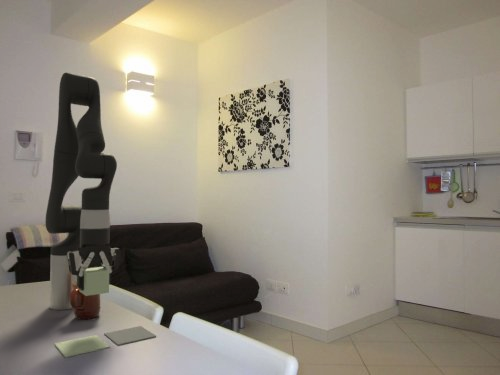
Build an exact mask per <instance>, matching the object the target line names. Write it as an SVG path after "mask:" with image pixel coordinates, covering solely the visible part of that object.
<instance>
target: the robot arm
mask: <svg viewBox="0 0 500 375" xmlns="http://www.w3.org/2000/svg"><path fill="white" fill-rule="evenodd" d="M100 90H101V89H100V85H99V82H98V80H97V79H96V78H94V77H91V76H87V75H83V74H77V73H72V72H64V73H62V75H61V76H60V82H59V90H58V91H59V92H58V110H57V111H58V116H57V128H56V135H55V143H54V148H53V149H54V151H53V160H52V161H53V162H52V175H51V185H50V190H49V196H48V201H47V207H46V213H45V229H46V231H47V233H49V234H53V235H54V234H58V235H59V234H67V236H66V237H65V238H64V239H63V240H61V241H59V242H57V243H55V244H53V245H52V246H51V247H50V262H49V263H50V268H49V269H50V272H49V273H50V276H49V278H50V279H49V281H50V283H49V308H50V310H57V311H60V310H71V309H73V308H72V306H71V304H70V293H71V291H72V290H73V287H72V283H73V282H76V281H77V288H79V290H81V291H82V290H84V276H83V275H84V272H85V271H86V269H87V268H89V266H91V265H95V264H97V265H98V264H99V265H101V267H103V268H105V269H108V270H109V286H110V285H111V284H112V272H115V271H117V270H119V266H120V260H121V259H120V258H121V252H122V250H121V249H120V248H118V247H113V248H112V247H111V245H110V242H111V240H110V238H111V237H110V236H111V235H110V234H111V233H110V230H111V217H110V216H111V214H110V194H111V189H112V188H111V187H112V185H113V181H114V178H115V175H116V171H117V167H118V164H117V162H118V161H117V159H116V158H115V156H114V155H113V154H112V153H103V152H104V151H105V148H106V142H105V138H104V133H103V128H102V119H101V118H102V117H101V116H102V115H101V91H100ZM72 105H77V106H81V107H82V106H84V107H88V109H87V111H86V112H85V113H84V114H83V115H82V117H80V119H79V120H78V122H77V124H76V123H75V121H74V118H73V113H72ZM79 177H80V178H83V179H95V180H96V179H98V180H101V181H100V182H99V184H98V185H96V186H95V185H94V186H91V187H86V188H84V189H83V190H82V191H81V206H80V205H77V204H63V201H64V199H65V196H66V194H67V191H68V190H69V189H70V187H71V186H72V185H73V183H74V182H75V181H76V180H77V179H78V178H79ZM110 254H111V256H112V259H111V263H109V261H108V259H107V258H108V256H109V255H110ZM110 264H111V265H110Z"/></svg>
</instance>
